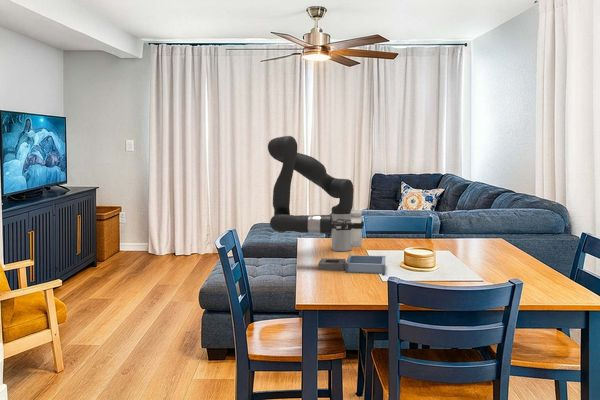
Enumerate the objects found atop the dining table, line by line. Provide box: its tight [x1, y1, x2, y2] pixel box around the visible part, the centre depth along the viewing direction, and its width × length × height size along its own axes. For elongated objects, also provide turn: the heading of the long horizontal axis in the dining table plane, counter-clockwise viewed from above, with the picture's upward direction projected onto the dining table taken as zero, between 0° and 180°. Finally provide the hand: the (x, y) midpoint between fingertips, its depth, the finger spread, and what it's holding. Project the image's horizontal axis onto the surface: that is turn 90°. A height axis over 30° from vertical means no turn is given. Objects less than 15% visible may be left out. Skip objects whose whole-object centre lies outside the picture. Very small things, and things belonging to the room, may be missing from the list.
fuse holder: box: [317, 257, 347, 272], centre depth 230 cm, size 10×10×3 cm
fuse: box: [351, 209, 363, 248], centre depth 227 cm, size 4×4×14 cm
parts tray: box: [344, 254, 386, 276], centre depth 228 cm, size 16×15×4 cm
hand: (363, 225), depth 226 cm, fingers closed on fuse, 4 cm apart
